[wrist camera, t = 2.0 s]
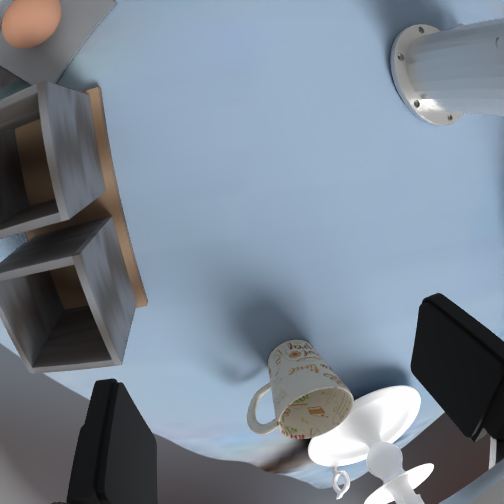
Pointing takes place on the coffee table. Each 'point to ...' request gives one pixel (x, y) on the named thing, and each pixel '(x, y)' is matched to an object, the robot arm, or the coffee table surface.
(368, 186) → the coffee table surface
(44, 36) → the ball
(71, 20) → the mat
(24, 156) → the dark grey boxy container
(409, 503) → the candlestick
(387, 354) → the coffee table surface
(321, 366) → the mug
